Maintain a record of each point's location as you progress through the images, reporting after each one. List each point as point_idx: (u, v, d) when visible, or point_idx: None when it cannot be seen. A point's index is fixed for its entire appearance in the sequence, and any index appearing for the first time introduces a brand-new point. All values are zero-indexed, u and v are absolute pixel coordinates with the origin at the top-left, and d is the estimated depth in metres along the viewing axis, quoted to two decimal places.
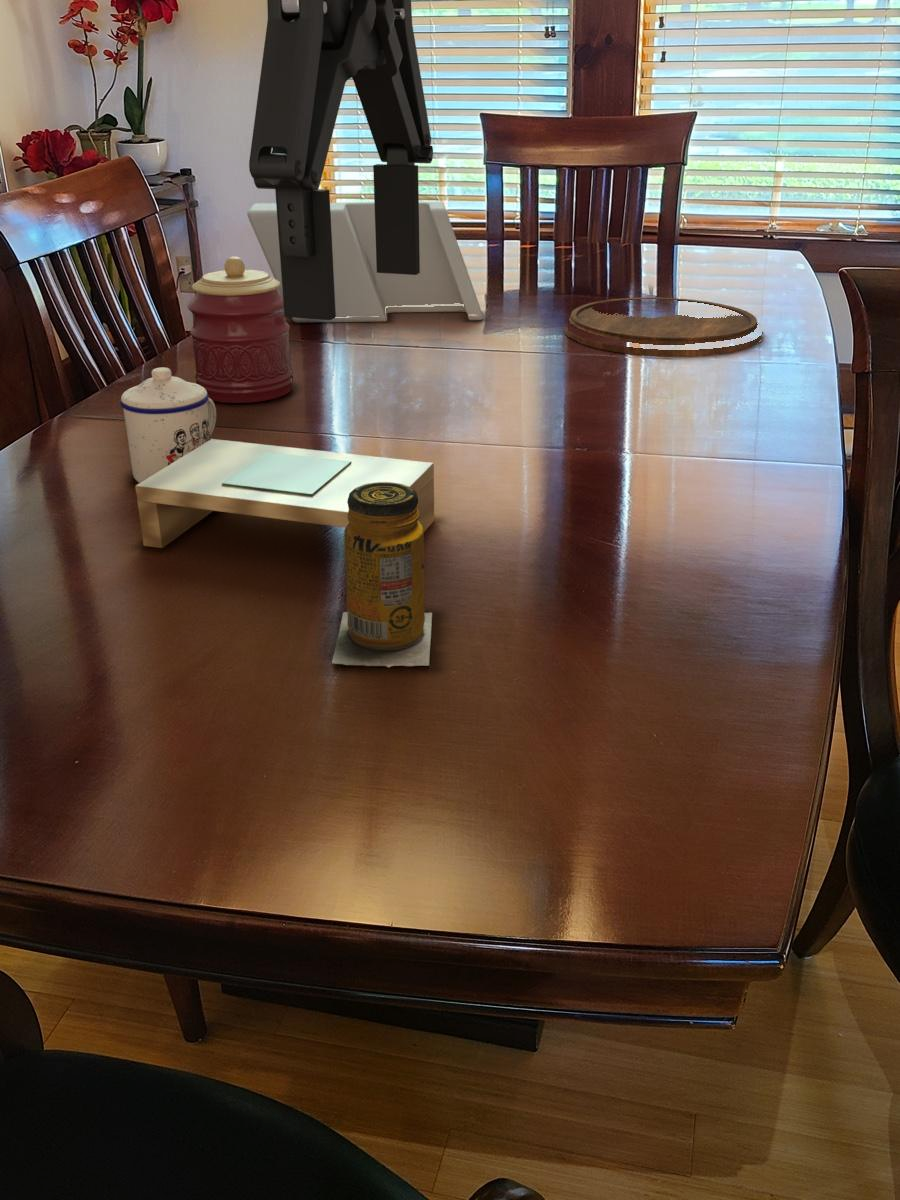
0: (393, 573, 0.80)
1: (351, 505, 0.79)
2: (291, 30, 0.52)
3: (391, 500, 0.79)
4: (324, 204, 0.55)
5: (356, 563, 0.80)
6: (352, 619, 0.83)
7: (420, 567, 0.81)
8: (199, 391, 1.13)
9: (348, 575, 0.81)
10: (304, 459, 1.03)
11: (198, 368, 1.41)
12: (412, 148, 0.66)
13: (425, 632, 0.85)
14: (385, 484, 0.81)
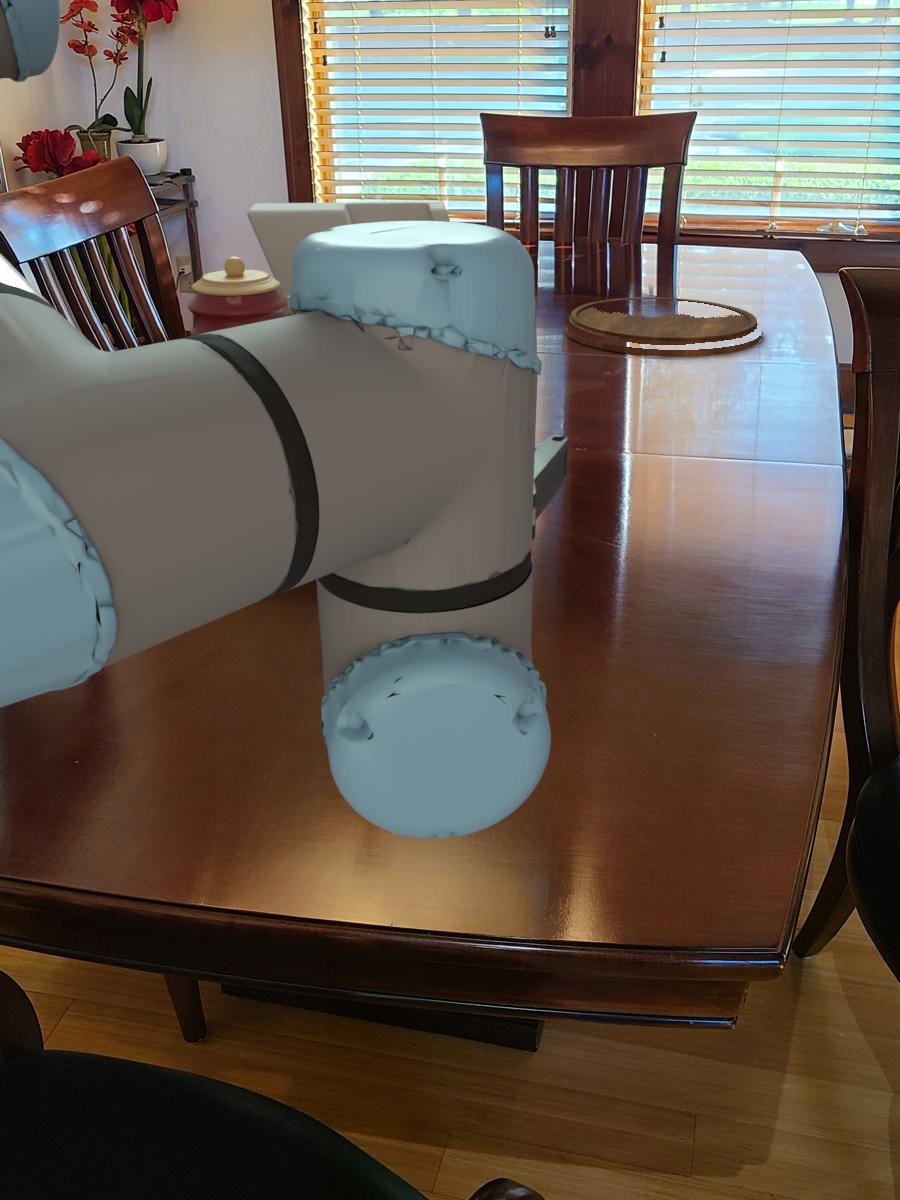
0: None
1: None
2: None
3: None
4: None
5: None
6: None
7: None
8: None
9: None
10: None
11: None
12: None
13: None
14: None
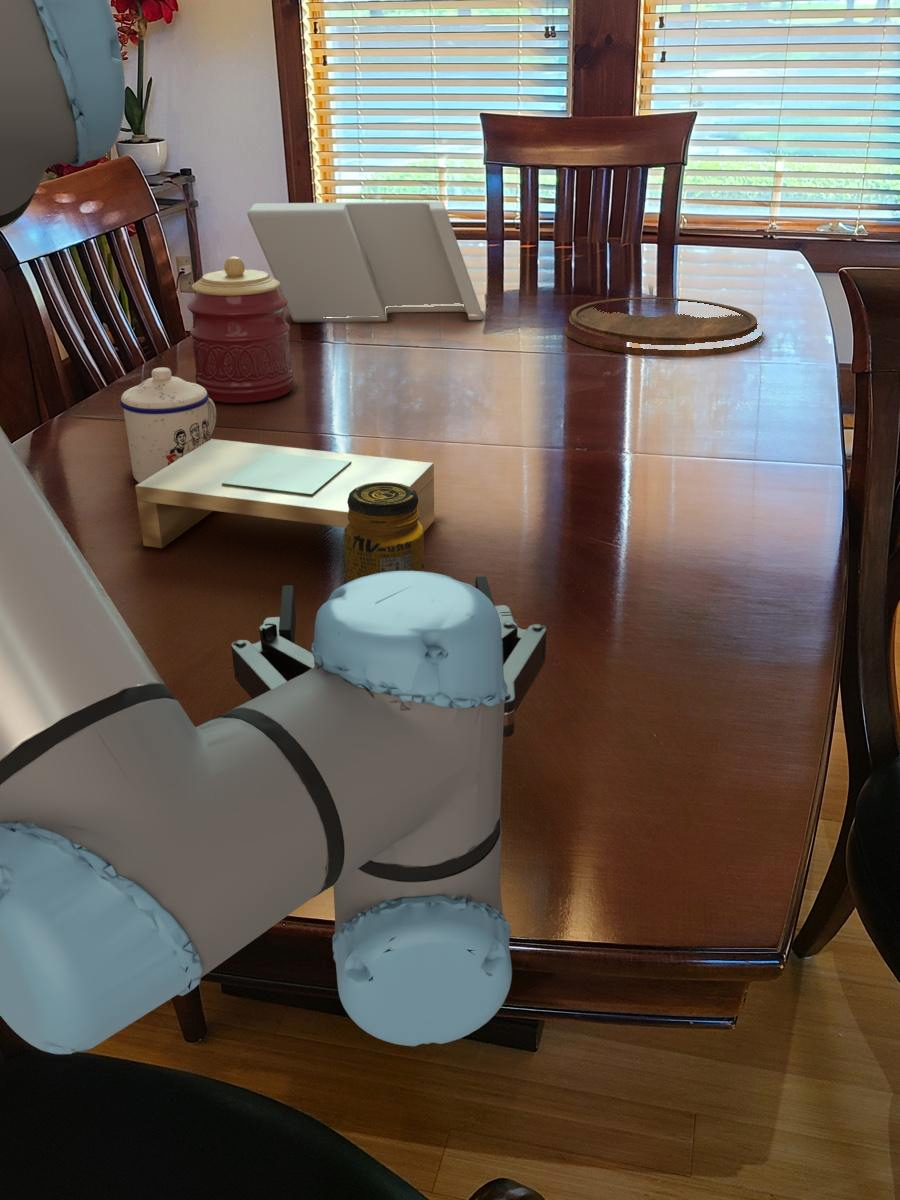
0: None
1: (352, 505, 0.79)
2: None
3: (391, 500, 0.79)
4: None
5: (356, 563, 0.80)
6: None
7: (420, 567, 0.81)
8: (199, 391, 1.13)
9: (348, 575, 0.81)
10: (304, 459, 1.03)
11: (198, 368, 1.41)
12: None
13: None
14: (385, 484, 0.81)
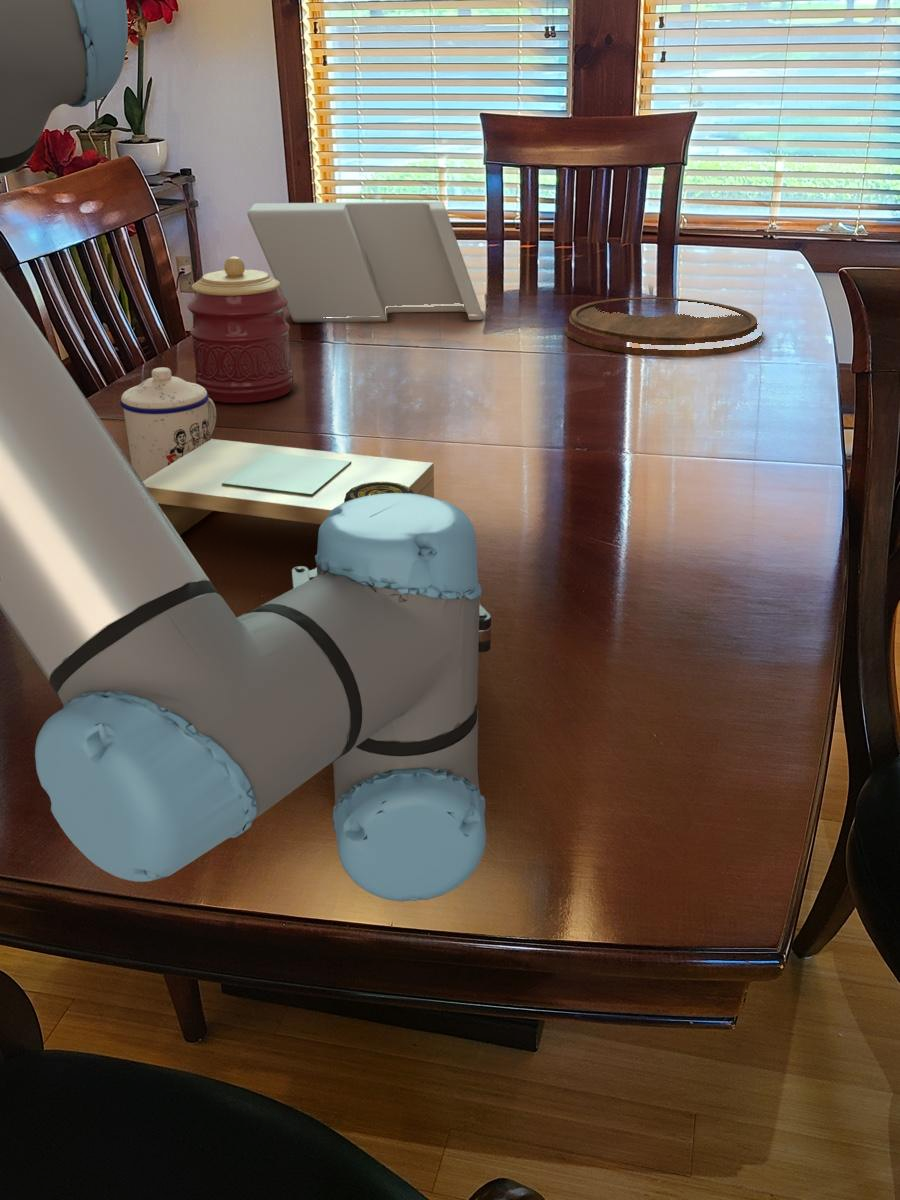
0: None
1: None
2: None
3: None
4: None
5: None
6: None
7: None
8: (199, 391, 1.13)
9: None
10: (304, 459, 1.03)
11: (198, 368, 1.41)
12: None
13: None
14: (382, 483, 0.81)
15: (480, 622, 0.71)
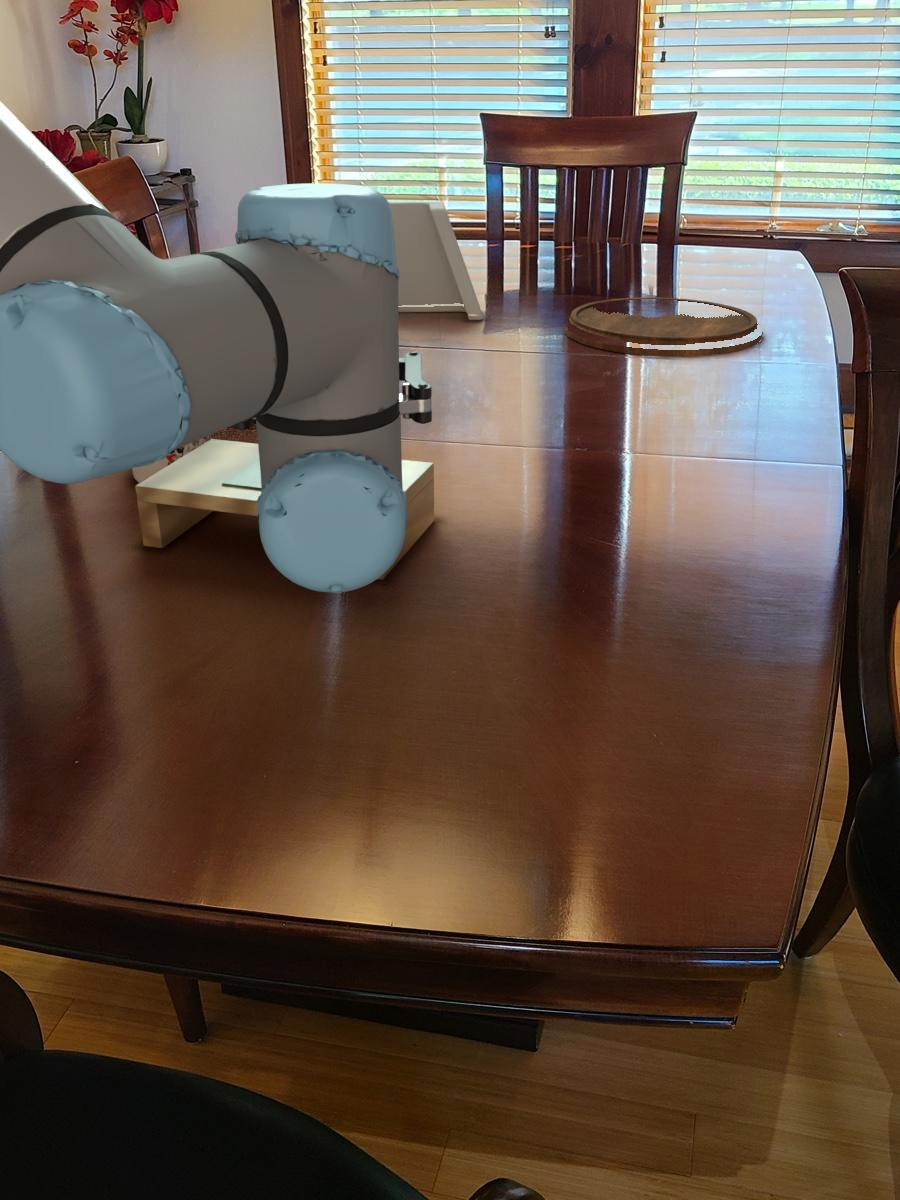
0: None
1: None
2: None
3: None
4: None
5: None
6: None
7: None
8: None
9: None
10: None
11: None
12: None
13: None
14: None
15: (420, 390, 0.72)
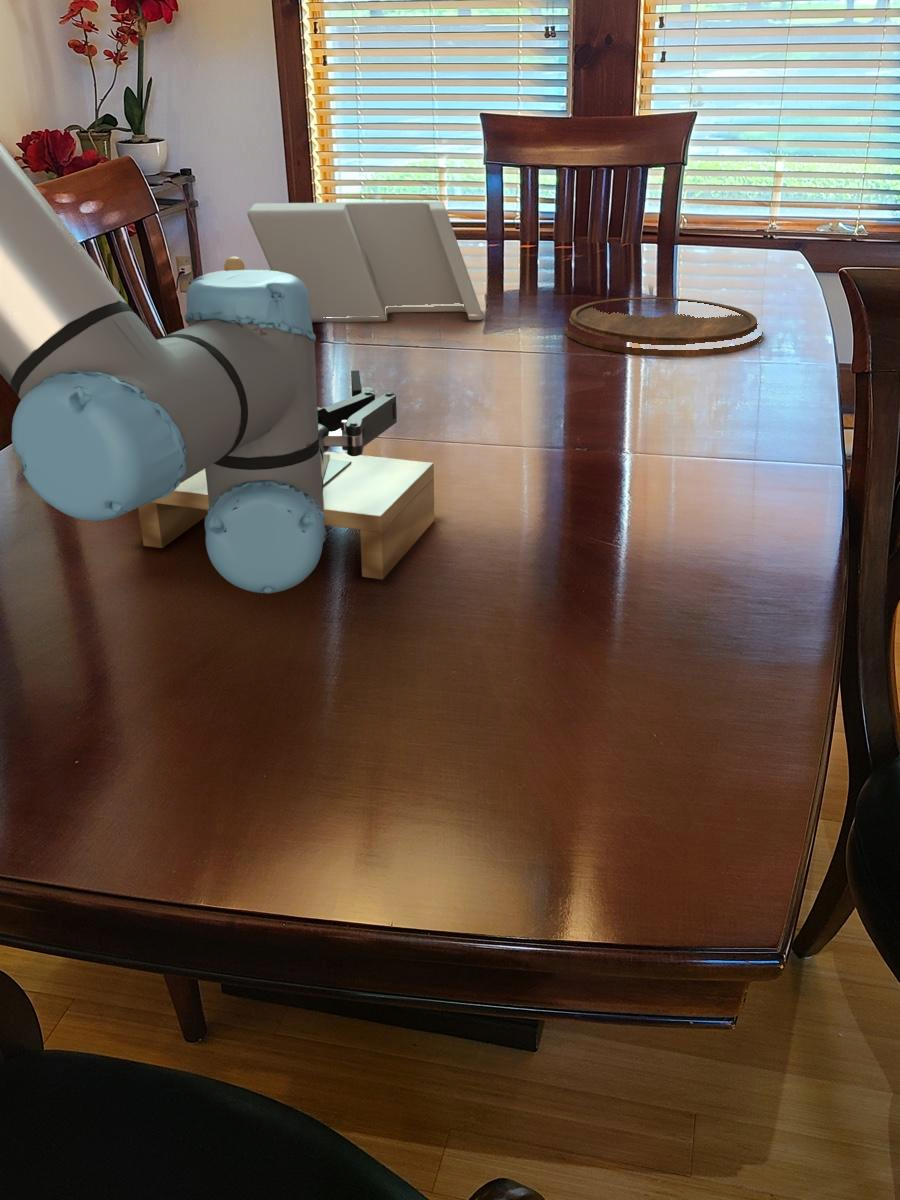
0: None
1: None
2: None
3: None
4: None
5: None
6: None
7: None
8: None
9: None
10: None
11: None
12: None
13: None
14: None
15: (348, 428, 0.85)
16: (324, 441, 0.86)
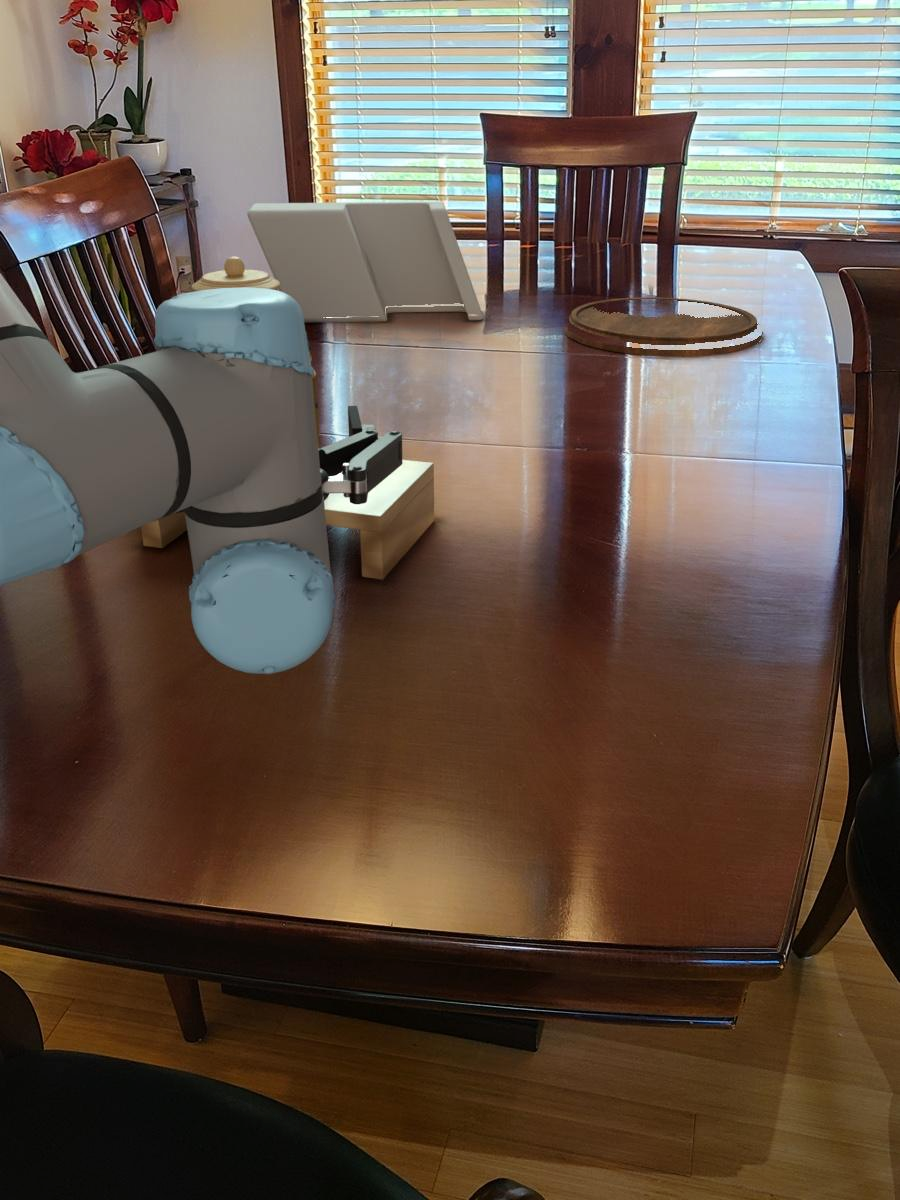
0: None
1: None
2: None
3: None
4: None
5: None
6: None
7: None
8: None
9: None
10: None
11: None
12: None
13: None
14: None
15: (352, 472, 0.74)
16: (323, 487, 0.74)
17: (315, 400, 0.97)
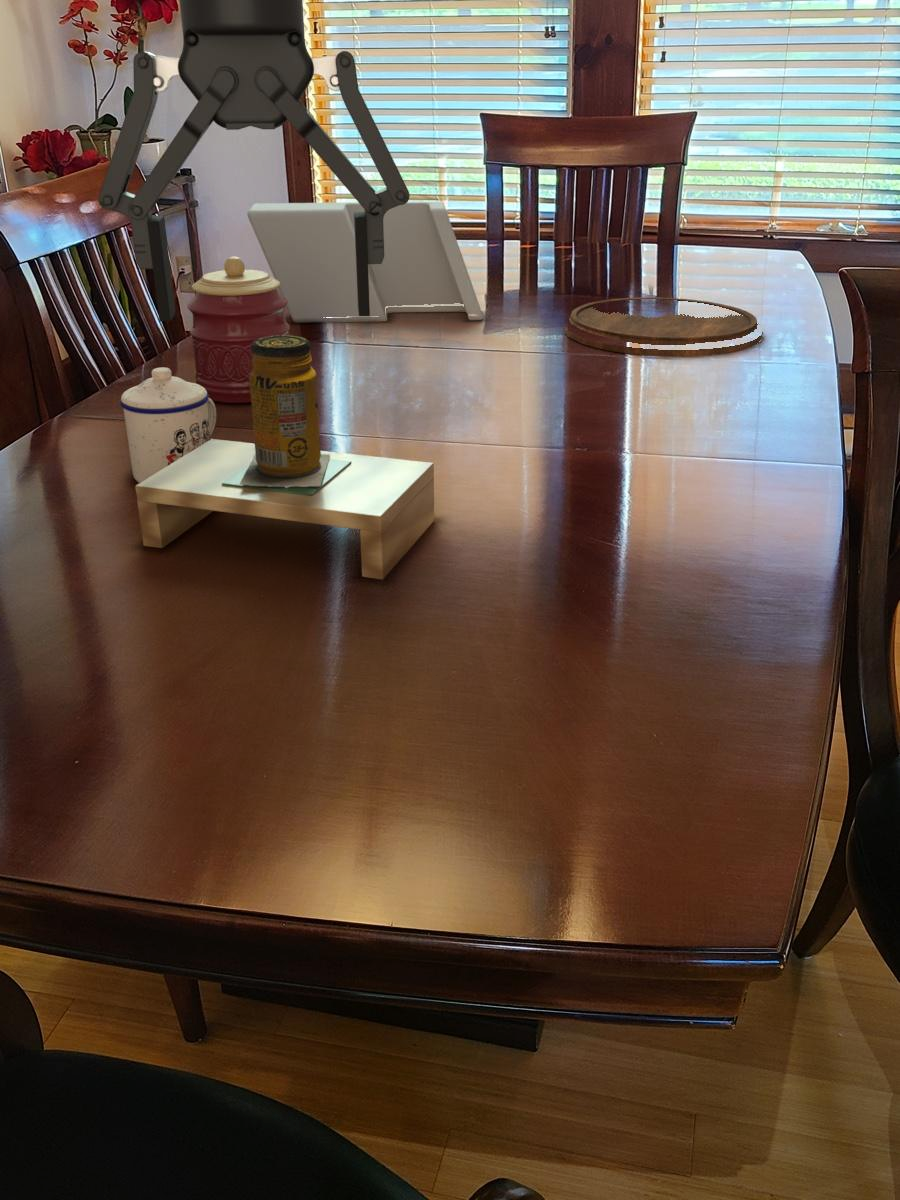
0: (289, 407, 0.96)
1: (254, 349, 0.95)
2: None
3: (287, 345, 0.95)
4: (149, 231, 0.71)
5: (259, 399, 0.96)
6: (258, 451, 0.99)
7: (313, 405, 0.97)
8: (199, 391, 1.13)
9: (253, 412, 0.97)
10: None
11: (198, 368, 1.41)
12: (358, 201, 0.72)
13: (322, 466, 1.01)
14: (284, 336, 0.97)
15: None
16: None
17: (315, 400, 0.97)
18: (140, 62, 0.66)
